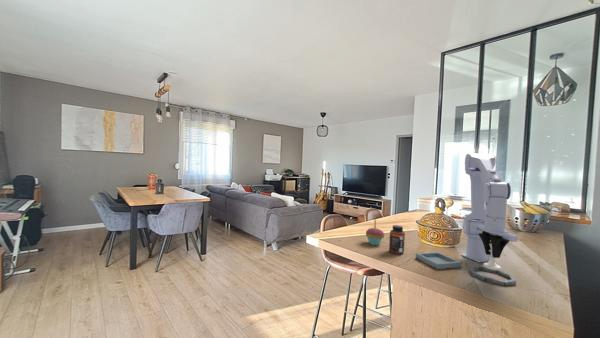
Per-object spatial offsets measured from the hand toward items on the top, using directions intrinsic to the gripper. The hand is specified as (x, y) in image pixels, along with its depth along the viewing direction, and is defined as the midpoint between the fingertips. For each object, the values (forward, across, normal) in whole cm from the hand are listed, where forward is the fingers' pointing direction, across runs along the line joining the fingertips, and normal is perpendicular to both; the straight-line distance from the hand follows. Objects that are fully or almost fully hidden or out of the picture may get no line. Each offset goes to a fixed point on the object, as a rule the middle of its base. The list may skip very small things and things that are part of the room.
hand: (492, 256), depth 85 cm
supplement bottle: (+8, +24, +22) cm, 33 cm away
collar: (+7, 0, 0) cm, 7 cm away
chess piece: (+4, 0, 0) cm, 4 cm away
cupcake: (+8, +35, +27) cm, 45 cm away
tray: (+7, +12, +11) cm, 18 cm away
